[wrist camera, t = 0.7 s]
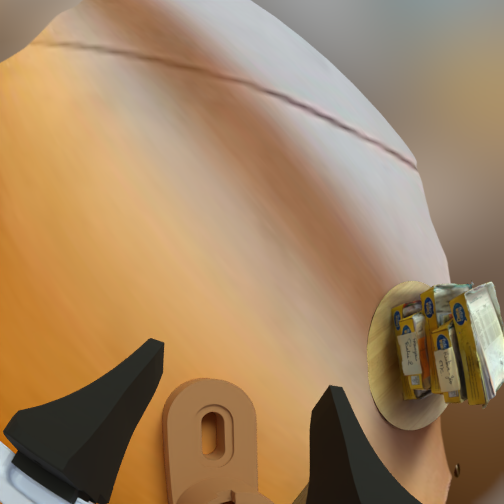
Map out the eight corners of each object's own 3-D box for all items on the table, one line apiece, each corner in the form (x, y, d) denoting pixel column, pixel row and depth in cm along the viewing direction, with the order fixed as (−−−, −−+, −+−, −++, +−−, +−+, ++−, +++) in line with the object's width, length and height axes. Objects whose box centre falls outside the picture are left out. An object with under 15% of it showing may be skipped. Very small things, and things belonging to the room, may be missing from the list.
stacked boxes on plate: (364, 444, 31) (475, 451, 17) (361, 273, 41) (458, 228, 27) (444, 412, 40) (519, 403, 26) (439, 293, 50) (507, 266, 36)
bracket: (247, 522, 21) (279, 549, 15) (172, 532, 18) (191, 567, 12) (243, 377, 28) (278, 379, 22) (161, 376, 24) (176, 381, 19)
